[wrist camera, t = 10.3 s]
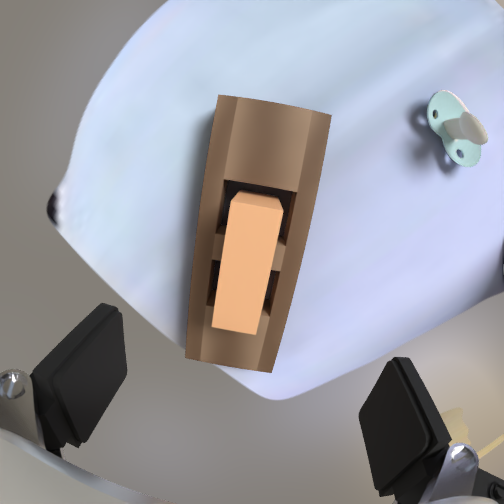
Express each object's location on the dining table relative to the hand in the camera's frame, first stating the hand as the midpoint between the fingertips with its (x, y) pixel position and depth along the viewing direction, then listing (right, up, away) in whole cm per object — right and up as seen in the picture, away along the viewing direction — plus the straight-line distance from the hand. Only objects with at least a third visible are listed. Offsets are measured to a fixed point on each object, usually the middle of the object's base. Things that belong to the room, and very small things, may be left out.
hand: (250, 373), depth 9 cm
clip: (0, +5, +15) cm, 16 cm away
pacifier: (+19, +16, +11) cm, 27 cm away
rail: (0, +5, +15) cm, 16 cm away
